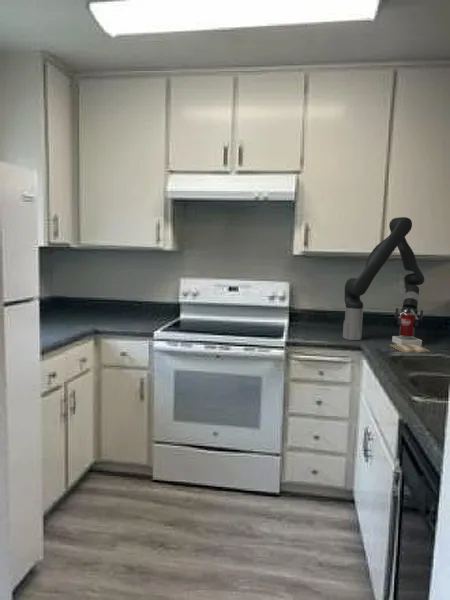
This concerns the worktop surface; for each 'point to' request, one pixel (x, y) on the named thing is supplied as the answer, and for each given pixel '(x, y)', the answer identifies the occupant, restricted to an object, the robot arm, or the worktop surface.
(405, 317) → the soda can
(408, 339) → the can collar
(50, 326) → the worktop surface
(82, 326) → the worktop surface
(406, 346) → the trivet
